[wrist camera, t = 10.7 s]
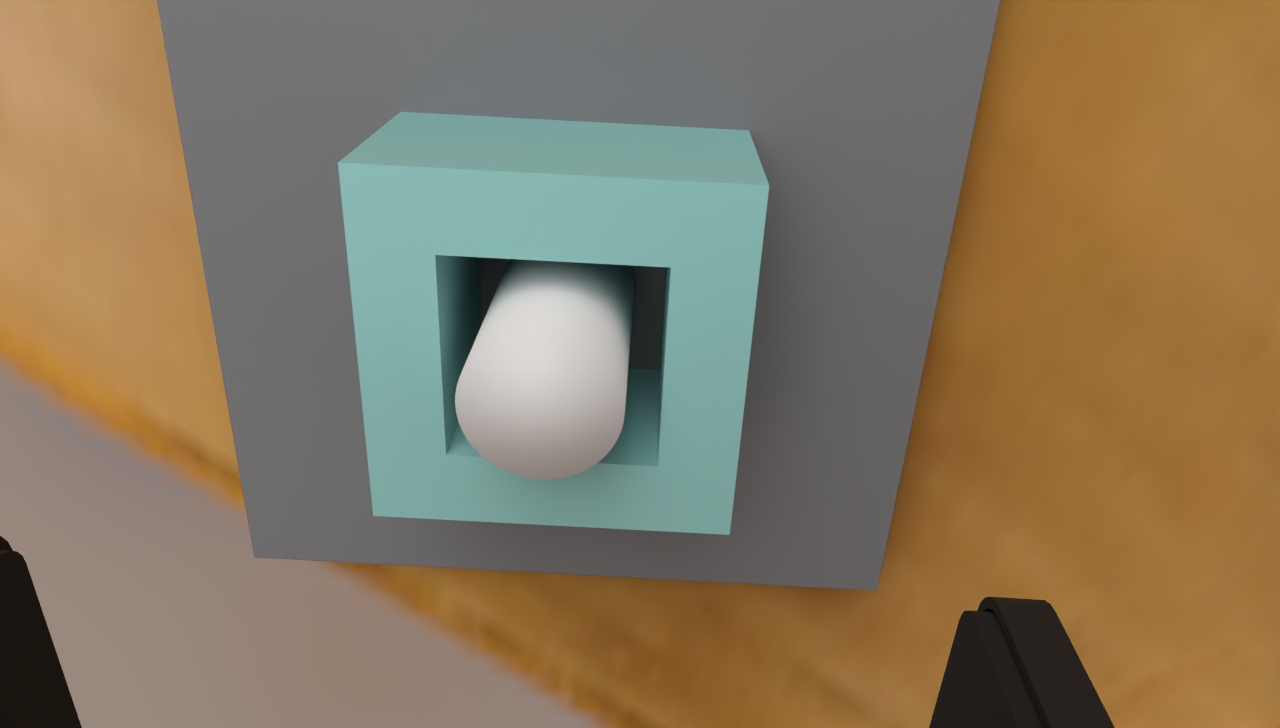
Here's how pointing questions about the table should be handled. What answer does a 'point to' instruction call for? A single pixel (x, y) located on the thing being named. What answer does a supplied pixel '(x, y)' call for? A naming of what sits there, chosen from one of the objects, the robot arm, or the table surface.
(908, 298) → the post base
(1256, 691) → the table surface
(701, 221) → the collar
